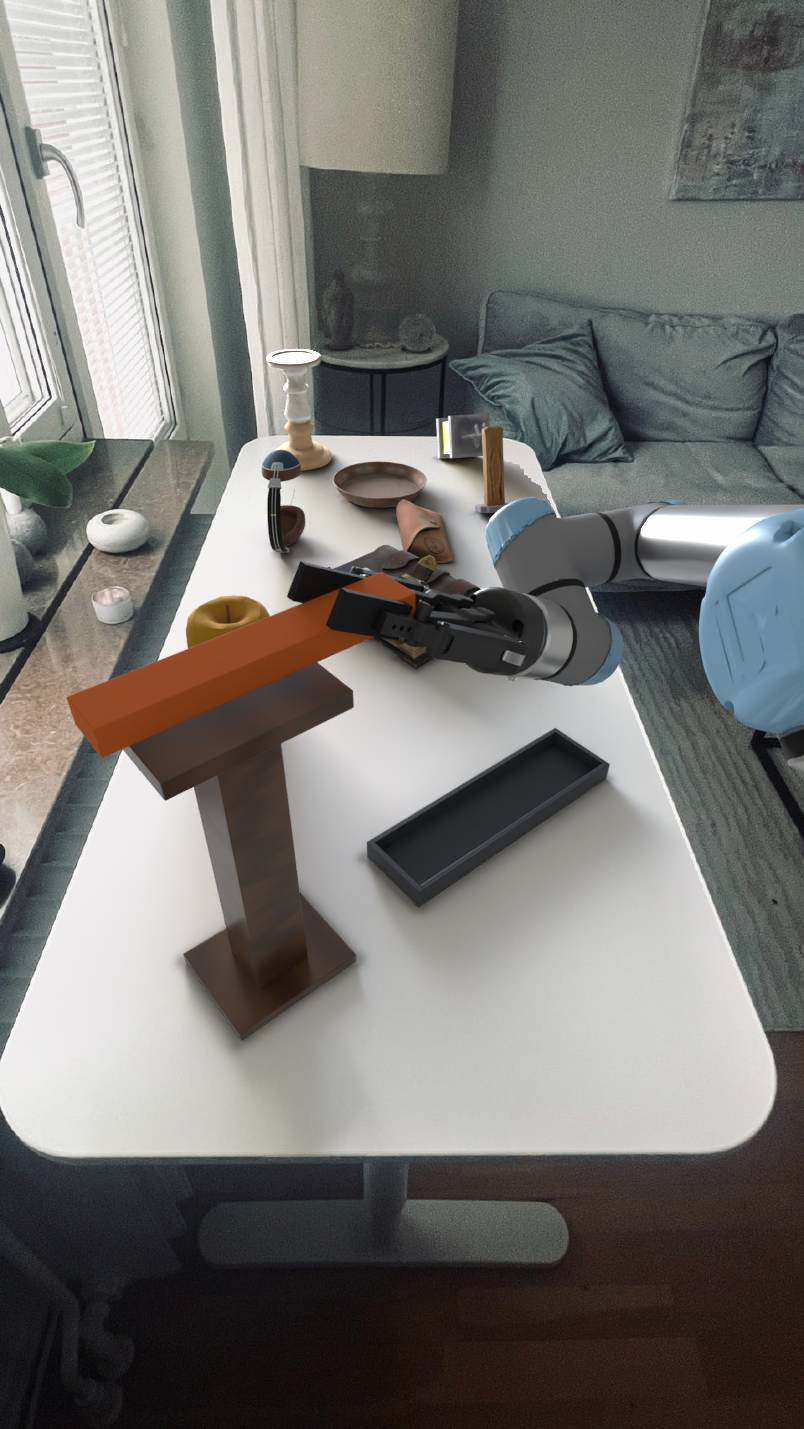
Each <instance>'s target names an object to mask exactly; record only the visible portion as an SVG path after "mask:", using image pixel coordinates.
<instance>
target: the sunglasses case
mask: <svg viewBox="0 0 804 1429" xmlns="http://www.w3.org/2000/svg"><path fill="white" fill-rule="evenodd" d="M395 517H396V521H397V525H398V526H397V527H398V530H399V534H400V535H399V536H400V540H401V545H402V550H403V551H407V552H409V553H411V554H413V555H415V556H417V557H419V558H421V559H422V558H424V557H426V556H429V555H431V556H433V557H435V560H436V563H437V565H439V564H440V565H441V564H447V563H451V562H453V561H454V555H453V553H452V548H451V547H450V544H449V541H448V537H447V535H446V530H445V527H444V524H443V516H442V513H439V512H437V511H433V510H430V509H428V508H424V507H421V506H418V505H416V504H415V503H413V502H411V501H410V502H409V501H407V500H401V501H400V502H399V503H398V504H397V506H395Z"/></svg>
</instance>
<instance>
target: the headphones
mask: <svg viewBox="0 0 804 1429" xmlns="http://www.w3.org/2000/svg"><path fill="white" fill-rule="evenodd" d="M301 474H302V471H301V465H300V462H299V460H298V459H297V458H296V457H295V456H294V455H293V454H292V453H291V452H289V451H287V450H283V449H279V450H275V449H274V450H272V451H271V452H270V453H268V454H267V455H266V456H265V458H264V459H263V461H262V462H261V475H262V477H263V478H264V479H265V480H267V481H268V484H267V489H268V491H267V500H266V501H267V503H266V504H267V505H266V506H267V508H266V510H267V512H266V515H267V532H268V539H269V544H270V548H271V549H272V551H273V552H275V553H279V554H281V553H282V554H285V553H290V548H289V547H288V546H290V545H293V544H294V543H296V542H297V541H298V540H299V539H300V537H301V536H302V535H303V533H304V531H305V528H306V515H305V514H306V513H305V512H304V510H303V509H302V508H301V507H299V506H296V505H292V503H293V499H294V496H295V494H293V496H292V499H291V502H290V504H283V505H282V497H281V496H282V494H281V490H282V482H283V483H284V482H288V481H291V480H295V479H296V478H298V477H300V475H301ZM293 492H295V488H294V489H293Z"/></svg>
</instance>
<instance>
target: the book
mask: <svg viewBox="0 0 804 1429" xmlns="http://www.w3.org/2000/svg"><path fill="white" fill-rule="evenodd" d="M326 567H327V568H331V569H335V570H340V571H344V572H348V573H350V571H351V568H352V567H360V568H362V569H365V570H369V571H373V572H378V573H380V572H382V573H384V574H386V575H390V576H394V577H398V578H403V579H407V580H417V581H424V582H426V583H427V584H428V585H429V587H428V588H429V590H430V589H433V590H437V591H440V592H443V593H446V594H449V595H453V594H460V595H463V596H466V597H468V598H469V597H470V596H472V595H473V594H474V593H476V592H477V591H479V590H481V589H482V588H480V587H479V586H478V585H476V584H474V583H472V582H470V581H467V580H466V579H463V578H455V577H454V576H452V575H451V573H450V571H447V570H445V569H444V568H441V567H439V566H438V564H437V563H436V560H435V557H433V556H431V555H429V556H426V557H424V558H422V559H421V558H419V557H417V556H415V555H413V554H411V553H409V552H407V551H403V549H401V550H400V549H397V548H395V547H393V546H391V545H390V544H382V545H380V546H378V547H376V549H375V550H373V551H372V552H368V553H366V554H364V555H362V556H359V557H357V558H355V559H353V560H351V561H348V562H345V563H344V564H341V565H339V566H336V567H333V568H332V567H331V566H326ZM373 638H374V639H375V640H376V641H378V642H379V643H381V644H383V645H384V646H386V647H387V648H388V649H390V650H391V651H393V652H394V653H396V654H397V657H399V658H400V659H401V660H402V661H404V662H405V663H407V664H408V665H409V666H411V667H413V668H414V669H415V670H418V669H419V668H421V667H422V666H424V665H426V664H427V663H429V662H430V661H432V660H434V659H433V658H430V657H429V656H428V655H427V654H426V653H425V650H426V648H427V647H411V646H408V645H407V644H406V643H405V642H404V641H403V638H399V640H398V641H397V640H391V639H385V638H379V637H373Z"/></svg>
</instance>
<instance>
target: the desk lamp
mask: <svg viewBox="0 0 804 1429" xmlns="http://www.w3.org/2000/svg"><path fill="white" fill-rule="evenodd" d="M490 423H491V417H490V412H487V413H472V414H456V415H448V416H447V417H438V418H437V417H436V418H435V427H436V445H437V446H436V448H437V459H448V458H449V459H459V458H473V457H474V458H475V457H476V458H477V457H482V468H483V470H482V471H483V496H484V498H483V499H484V500H483V501H484V502H483V503H482V504H481V503H480V504H474V512H477V513H479V514H491V513H496V512H497V511H498V510H500V509H501V508H502V507H504V506H506V505H507V504H509V503H511V502H512V501H506V494H505V493H506V492H505V490H506V489H505V468H504V467H505V463H504V427H502V426H500V425H497V426H491V424H490Z"/></svg>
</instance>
